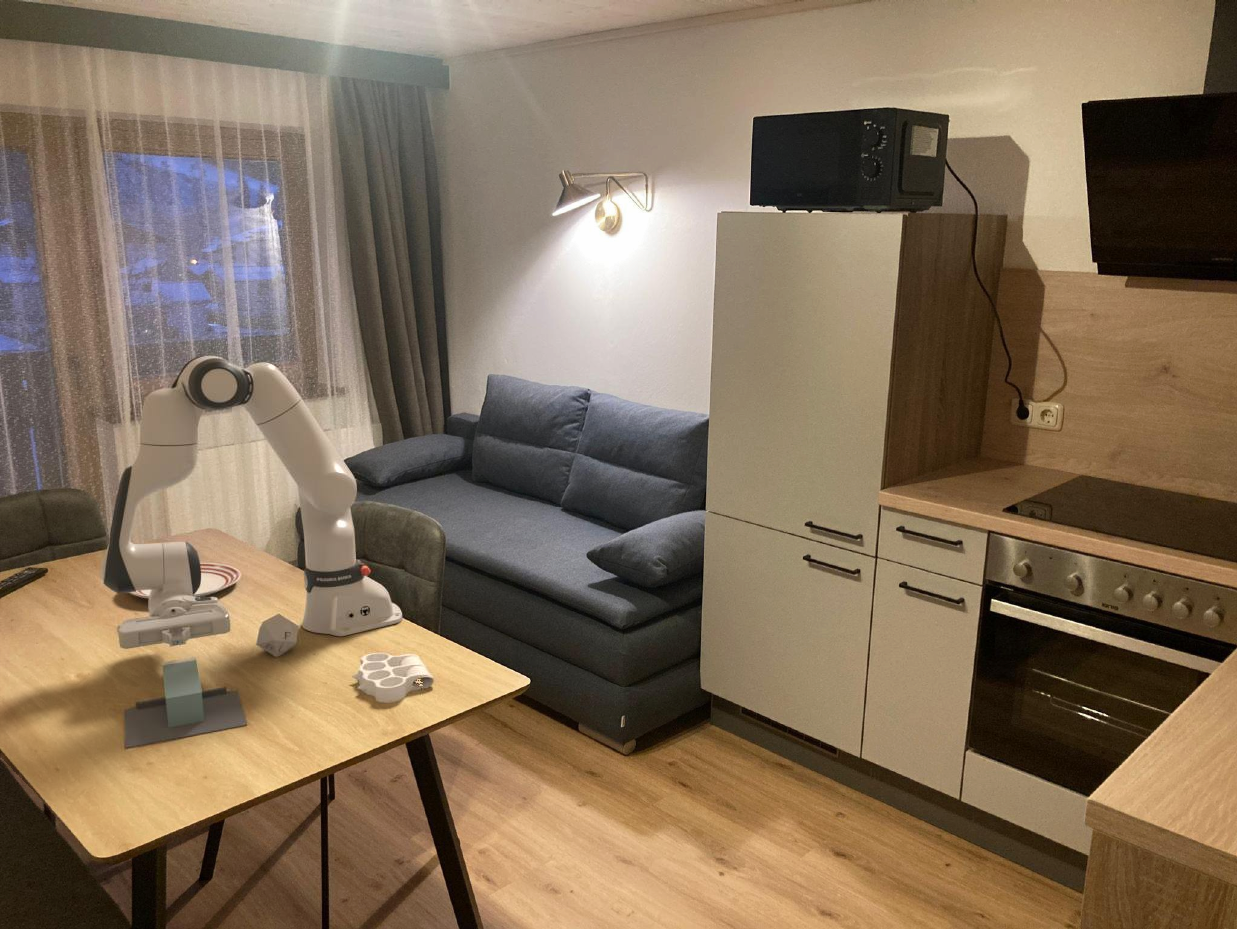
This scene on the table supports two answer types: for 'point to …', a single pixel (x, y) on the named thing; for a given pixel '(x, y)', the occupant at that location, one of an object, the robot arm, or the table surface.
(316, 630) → the robot arm
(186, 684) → the block
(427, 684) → the white multi-hole holder
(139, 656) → the table surface
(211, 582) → the dinner plate
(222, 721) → the charcoal mat
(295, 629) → the die
